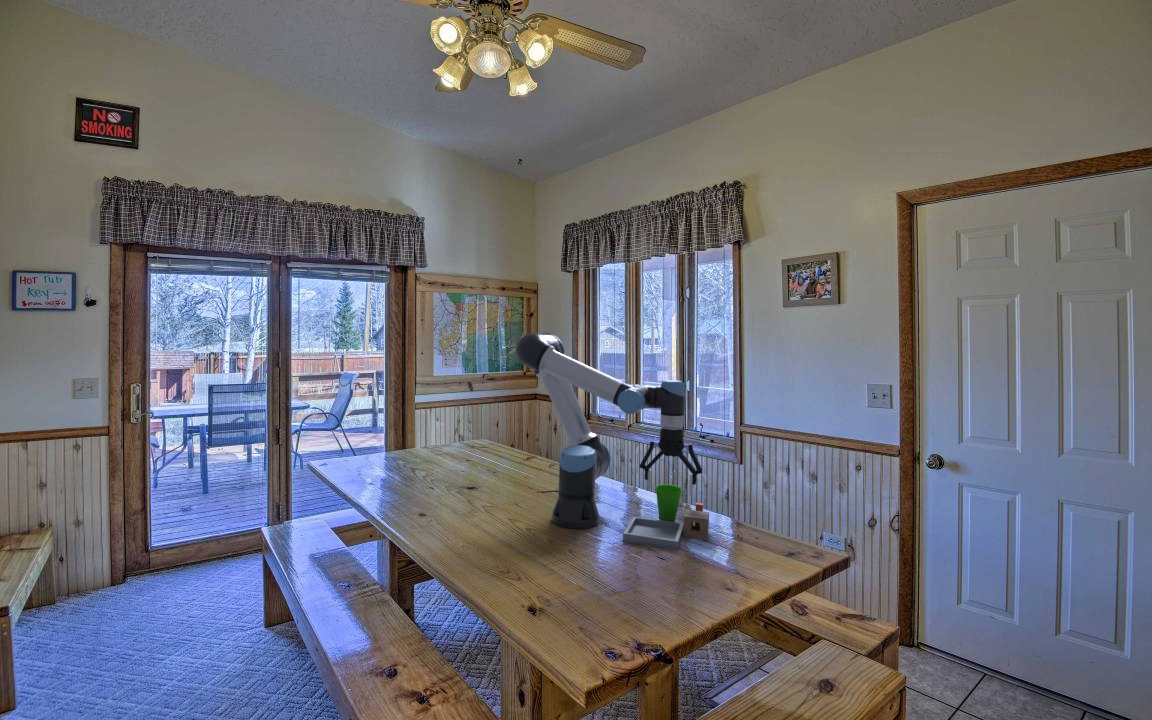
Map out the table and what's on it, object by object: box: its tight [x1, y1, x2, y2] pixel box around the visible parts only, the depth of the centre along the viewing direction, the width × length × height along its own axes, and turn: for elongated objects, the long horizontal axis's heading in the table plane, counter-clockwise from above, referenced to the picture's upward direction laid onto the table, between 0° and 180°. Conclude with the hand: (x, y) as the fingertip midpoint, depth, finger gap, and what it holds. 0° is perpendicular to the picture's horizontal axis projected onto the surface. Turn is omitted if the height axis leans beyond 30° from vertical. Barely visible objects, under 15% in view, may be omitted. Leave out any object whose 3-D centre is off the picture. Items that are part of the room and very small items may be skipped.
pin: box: [693, 502, 704, 524], centre depth 174 cm, size 10×2×5 cm, turn 163°
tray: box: [622, 516, 684, 550], centre depth 165 cm, size 16×16×2 cm
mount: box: [682, 508, 710, 541], centre depth 167 cm, size 7×7×6 cm
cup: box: [654, 483, 683, 522], centre depth 178 cm, size 9×9×11 cm
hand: (669, 492), depth 178 cm, fingers open, 13 cm apart
